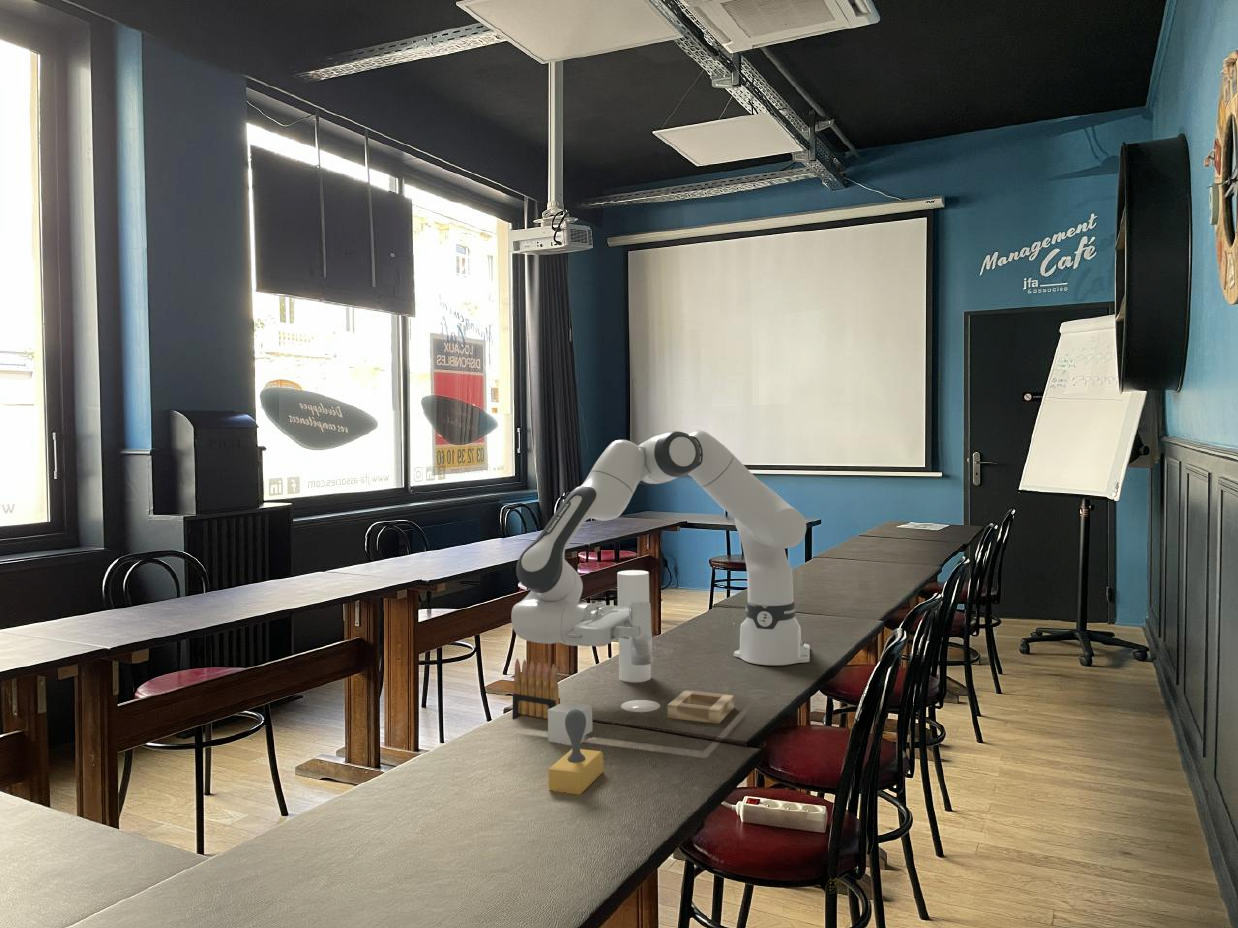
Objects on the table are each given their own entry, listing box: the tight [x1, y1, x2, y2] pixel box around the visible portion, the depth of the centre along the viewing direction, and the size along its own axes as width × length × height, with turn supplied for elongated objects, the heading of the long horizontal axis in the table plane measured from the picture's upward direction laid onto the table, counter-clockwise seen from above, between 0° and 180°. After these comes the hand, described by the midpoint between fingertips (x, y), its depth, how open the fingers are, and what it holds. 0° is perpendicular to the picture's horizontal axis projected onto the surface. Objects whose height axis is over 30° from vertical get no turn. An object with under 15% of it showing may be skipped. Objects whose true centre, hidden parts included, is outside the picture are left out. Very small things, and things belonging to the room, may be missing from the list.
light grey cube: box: [547, 700, 593, 747], centre depth 170 cm, size 6×6×6 cm
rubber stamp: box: [547, 709, 604, 796], centre depth 149 cm, size 10×6×12 cm, turn 160°
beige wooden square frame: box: [666, 690, 735, 724], centre depth 180 cm, size 10×10×4 cm
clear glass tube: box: [629, 602, 653, 665], centre depth 185 cm, size 4×4×12 cm
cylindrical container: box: [616, 569, 652, 683], centre depth 206 cm, size 7×7×25 cm
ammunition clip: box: [512, 658, 561, 721], centre depth 180 cm, size 11×2×12 cm, turn 60°
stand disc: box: [620, 699, 661, 713], centre depth 186 cm, size 8×8×1 cm
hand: (644, 628), depth 185 cm, fingers closed on clear glass tube, 4 cm apart
